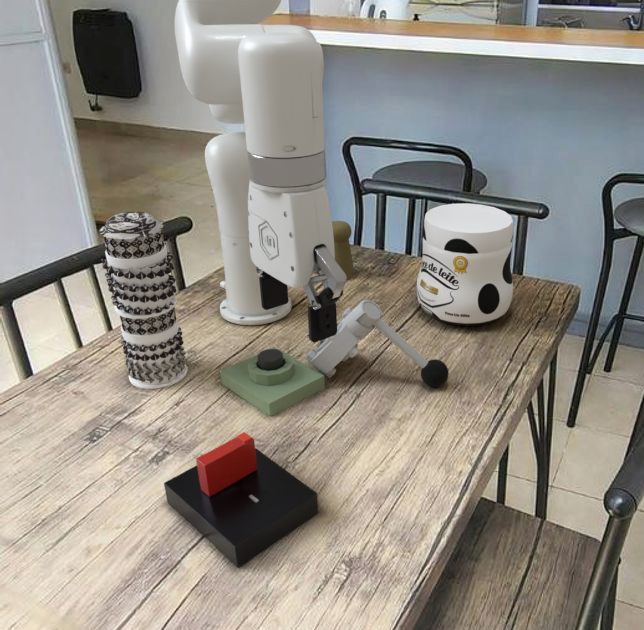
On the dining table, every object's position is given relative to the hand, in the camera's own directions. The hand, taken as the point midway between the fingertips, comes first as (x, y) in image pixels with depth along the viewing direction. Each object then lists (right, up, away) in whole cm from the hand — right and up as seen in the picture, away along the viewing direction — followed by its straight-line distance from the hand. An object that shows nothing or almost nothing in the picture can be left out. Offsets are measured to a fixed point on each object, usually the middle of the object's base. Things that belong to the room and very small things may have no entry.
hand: (298, 321), depth 75 cm
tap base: (-7, -22, +4) cm, 23 cm away
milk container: (+21, +1, +49) cm, 54 cm away
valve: (+7, -9, +30) cm, 32 cm away
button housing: (-8, -10, +26) cm, 29 cm away
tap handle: (-9, -18, +4) cm, 21 cm away
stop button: (-8, -7, +25) cm, 27 cm away
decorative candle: (-26, -8, +29) cm, 40 cm away
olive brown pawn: (-3, +9, +62) cm, 63 cm away
